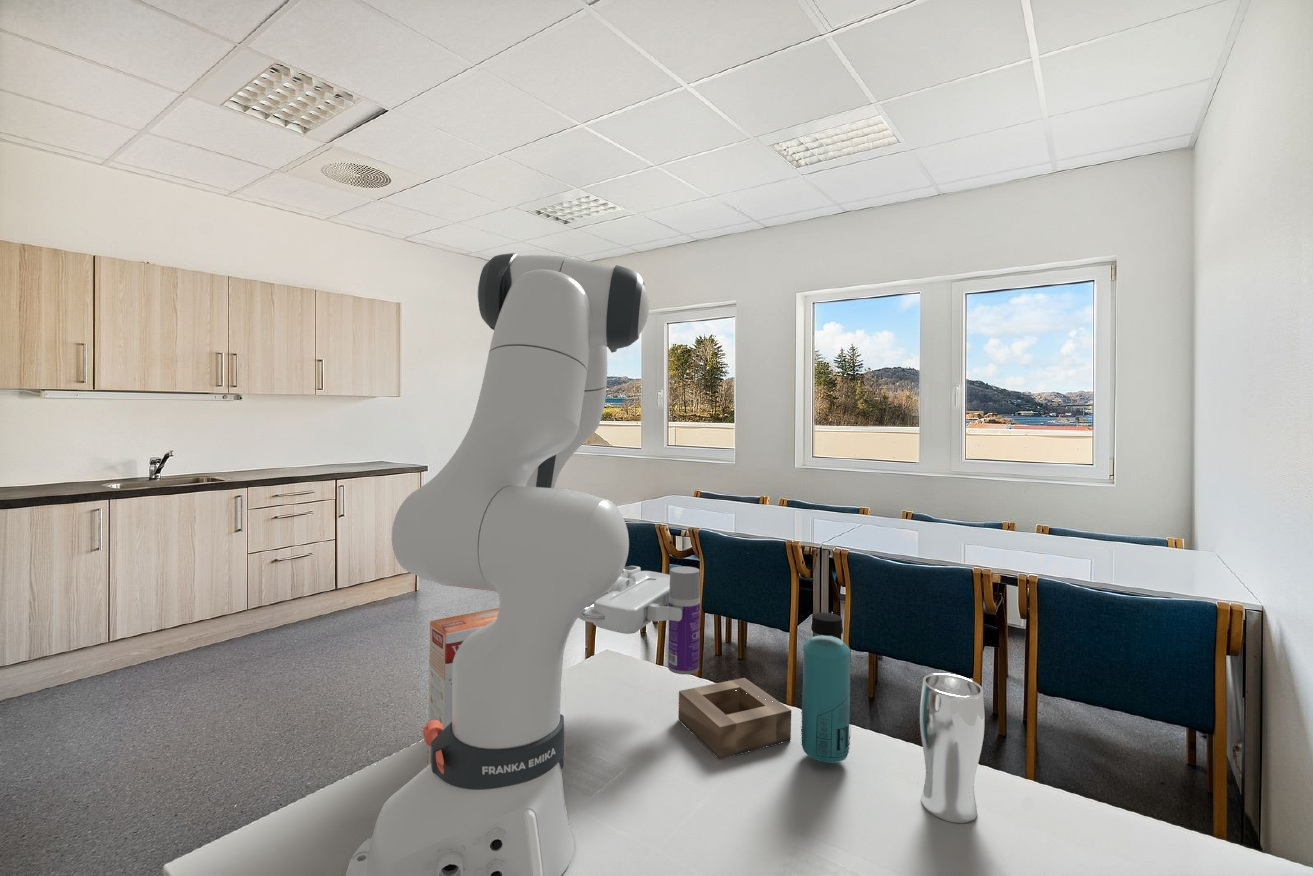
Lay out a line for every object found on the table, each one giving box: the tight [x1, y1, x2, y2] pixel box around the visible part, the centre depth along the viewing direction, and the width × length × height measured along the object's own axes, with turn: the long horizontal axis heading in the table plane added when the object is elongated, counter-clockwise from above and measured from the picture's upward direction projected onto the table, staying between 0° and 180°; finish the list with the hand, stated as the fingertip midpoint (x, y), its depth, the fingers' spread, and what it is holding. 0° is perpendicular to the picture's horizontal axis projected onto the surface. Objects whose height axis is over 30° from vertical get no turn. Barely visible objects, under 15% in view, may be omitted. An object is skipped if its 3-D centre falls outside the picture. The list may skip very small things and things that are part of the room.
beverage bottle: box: [800, 612, 852, 763], centre depth 83 cm, size 6×7×20 cm
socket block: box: [677, 677, 792, 761], centre depth 91 cm, size 12×12×4 cm
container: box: [667, 565, 701, 675], centre depth 93 cm, size 5×5×15 cm
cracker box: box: [427, 607, 499, 766], centre depth 78 cm, size 14×6×21 cm, turn 129°
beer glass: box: [919, 672, 985, 824], centre depth 74 cm, size 7×7×15 cm
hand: (690, 608), depth 92 cm, fingers closed on container, 5 cm apart
